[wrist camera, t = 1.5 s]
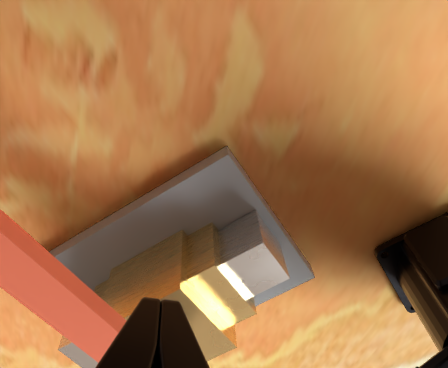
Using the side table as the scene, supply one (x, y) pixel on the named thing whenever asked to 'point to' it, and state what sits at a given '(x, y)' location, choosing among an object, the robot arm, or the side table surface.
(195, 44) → the side table surface
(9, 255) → the lever
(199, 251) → the valve
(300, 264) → the board
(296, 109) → the side table surface
